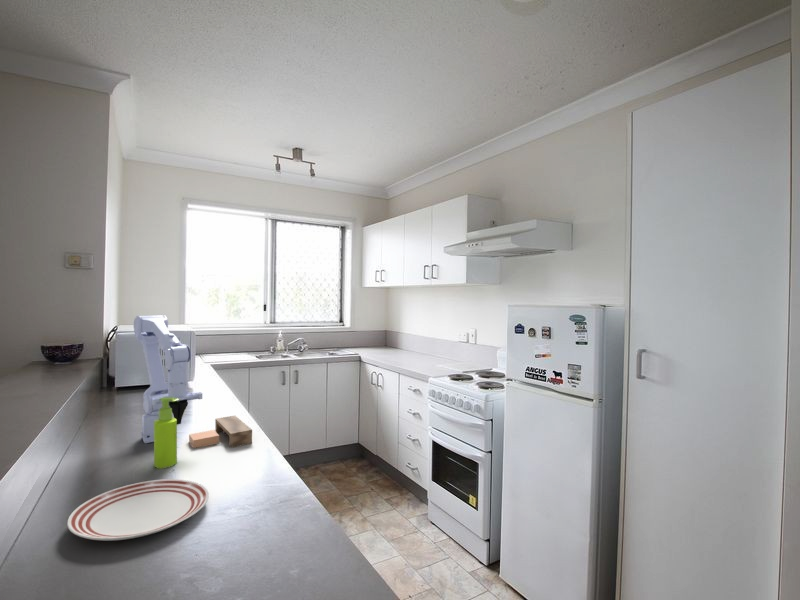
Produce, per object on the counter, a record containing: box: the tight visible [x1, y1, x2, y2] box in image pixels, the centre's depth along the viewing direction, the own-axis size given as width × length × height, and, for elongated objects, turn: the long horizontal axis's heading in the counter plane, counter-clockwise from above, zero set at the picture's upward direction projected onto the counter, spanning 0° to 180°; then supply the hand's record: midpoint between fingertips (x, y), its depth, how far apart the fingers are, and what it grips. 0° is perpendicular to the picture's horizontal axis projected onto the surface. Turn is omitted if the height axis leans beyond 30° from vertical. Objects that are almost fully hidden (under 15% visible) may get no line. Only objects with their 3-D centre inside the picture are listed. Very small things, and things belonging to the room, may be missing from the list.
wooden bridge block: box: [214, 415, 253, 448], centre depth 149 cm, size 7×20×5 cm, turn 37°
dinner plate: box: [66, 478, 210, 542], centre depth 97 cm, size 28×27×3 cm
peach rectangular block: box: [188, 429, 220, 449], centre depth 144 cm, size 8×7×3 cm
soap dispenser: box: [153, 397, 179, 469], centre depth 125 cm, size 6×7×20 cm
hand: (177, 423), depth 139 cm, fingers closed
